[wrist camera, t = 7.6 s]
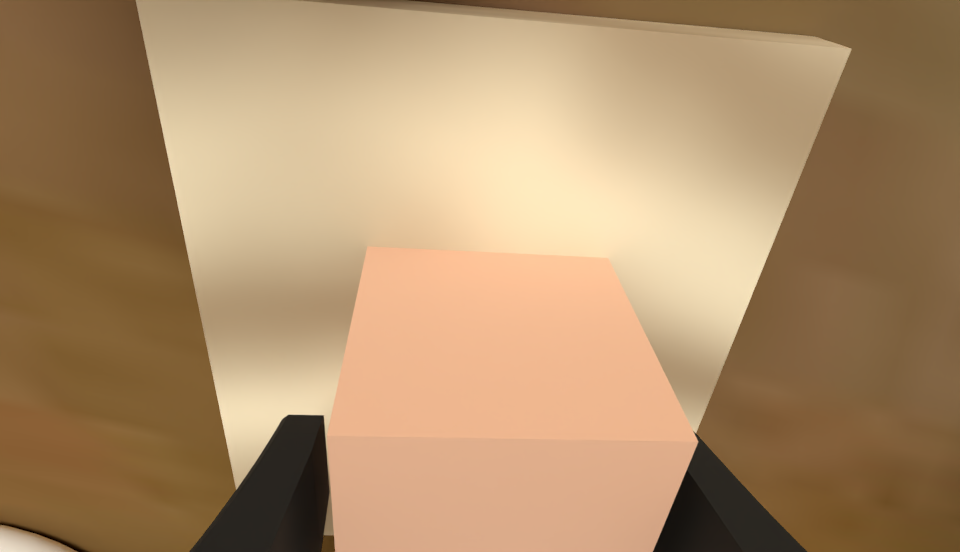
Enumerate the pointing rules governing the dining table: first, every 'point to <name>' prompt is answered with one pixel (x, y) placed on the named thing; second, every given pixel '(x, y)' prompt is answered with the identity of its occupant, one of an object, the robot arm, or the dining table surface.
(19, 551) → the wine bottle
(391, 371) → the peach cube
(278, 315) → the birch board
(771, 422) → the dining table surface
